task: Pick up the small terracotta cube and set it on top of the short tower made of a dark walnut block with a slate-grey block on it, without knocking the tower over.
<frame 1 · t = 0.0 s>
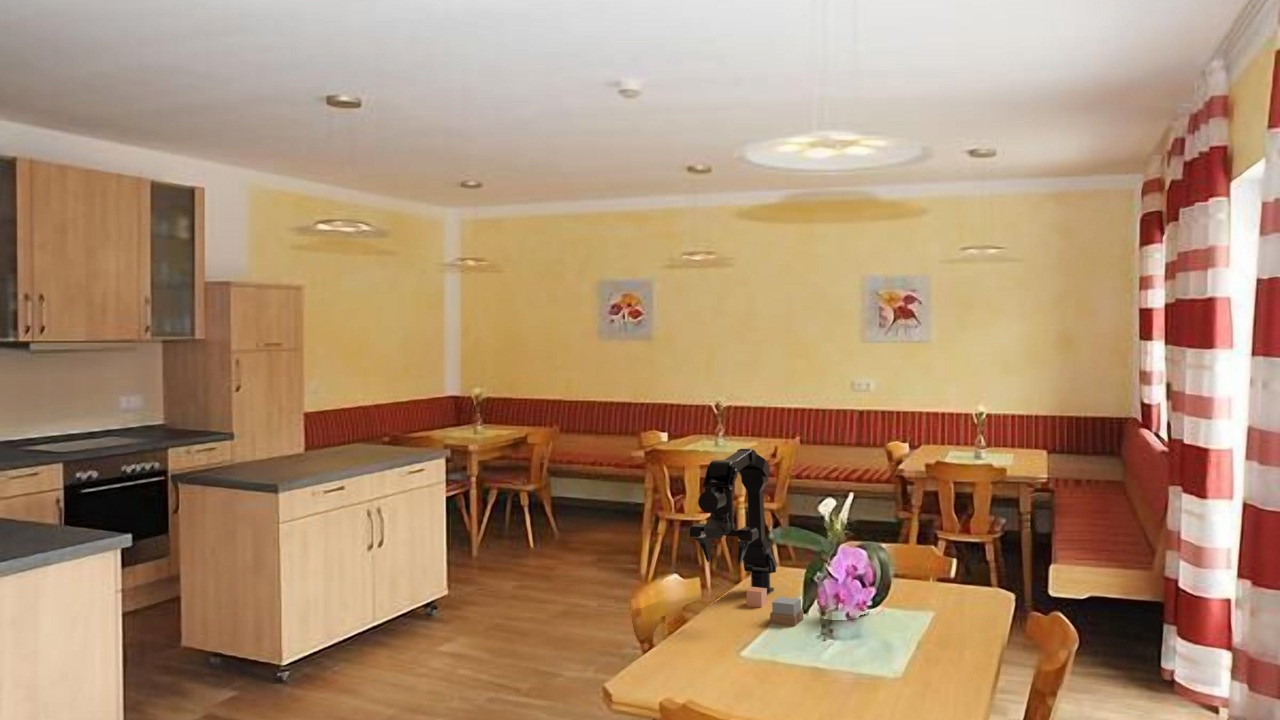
hand: (723, 563, 270), 15 cm above the table, fingers open, 9 cm apart
syrup box: (855, 614, 270), on the table
slate block: (786, 611, 264), point 3 cm above the table
walnut block: (786, 622, 265), on the table
terracotta cube: (756, 605, 281), on the table
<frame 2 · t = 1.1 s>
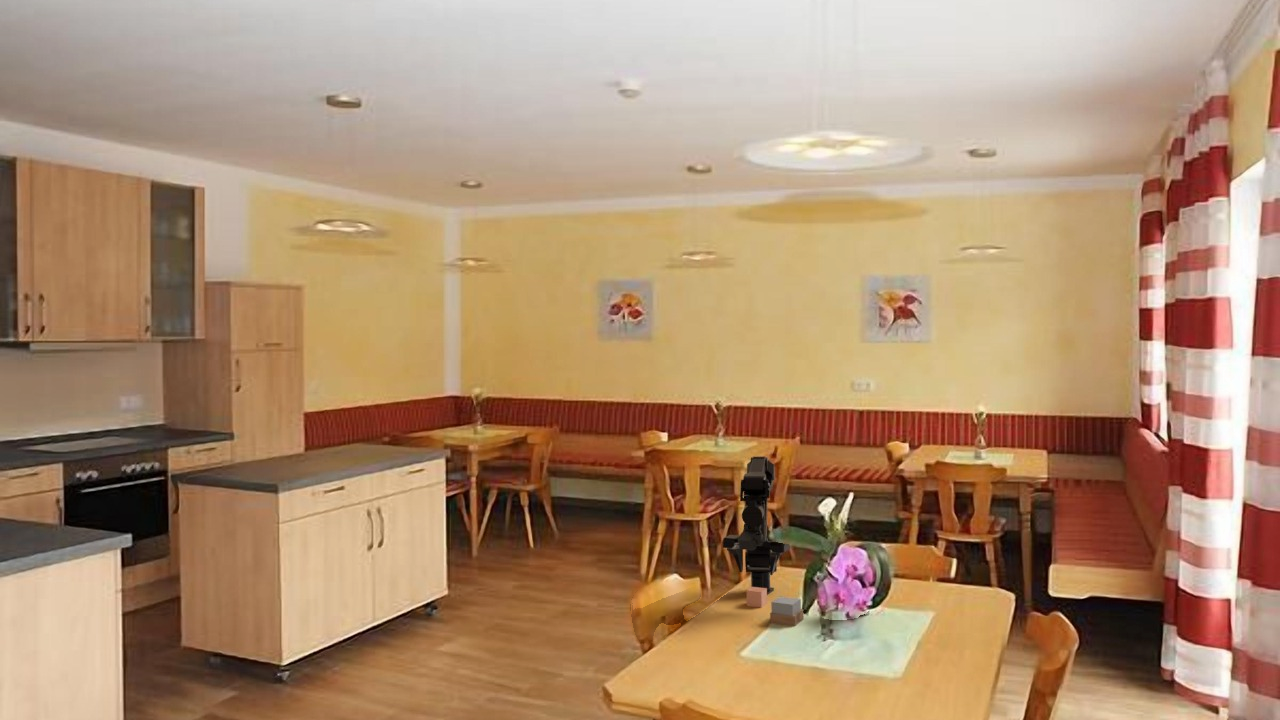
hand: (756, 573, 281), 9 cm above the table, fingers open, 9 cm apart
slate block: (786, 611, 264), point 3 cm above the table, touching walnut block
walnut block: (787, 622, 265), on the table, touching slate block
everything else where it was.
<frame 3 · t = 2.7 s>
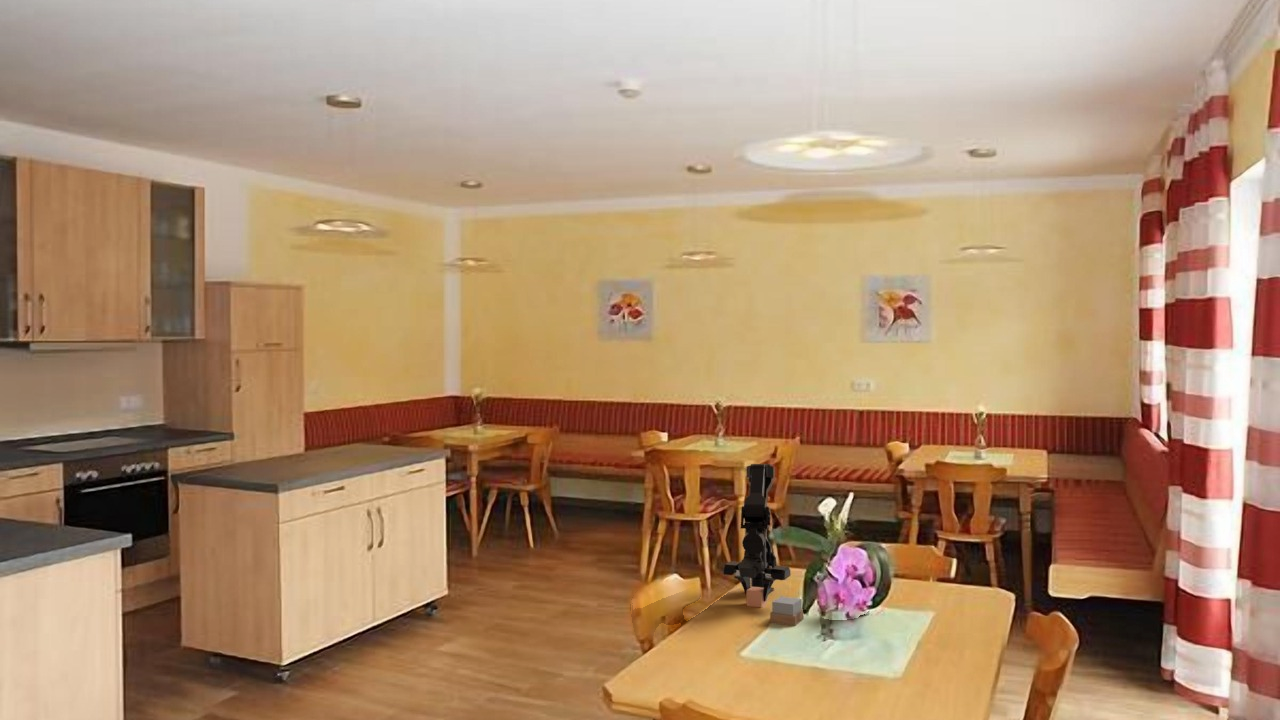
hand: (756, 600, 281), 1 cm above the table, fingers closed on terracotta cube, 4 cm apart
terracotta cube: (756, 604, 281), on the table, touching gripper
everything else where it was.
when the fingers open (8 cm above the table, at t = 6.8 s): terracotta cube drops 2 cm, resting on slate block.
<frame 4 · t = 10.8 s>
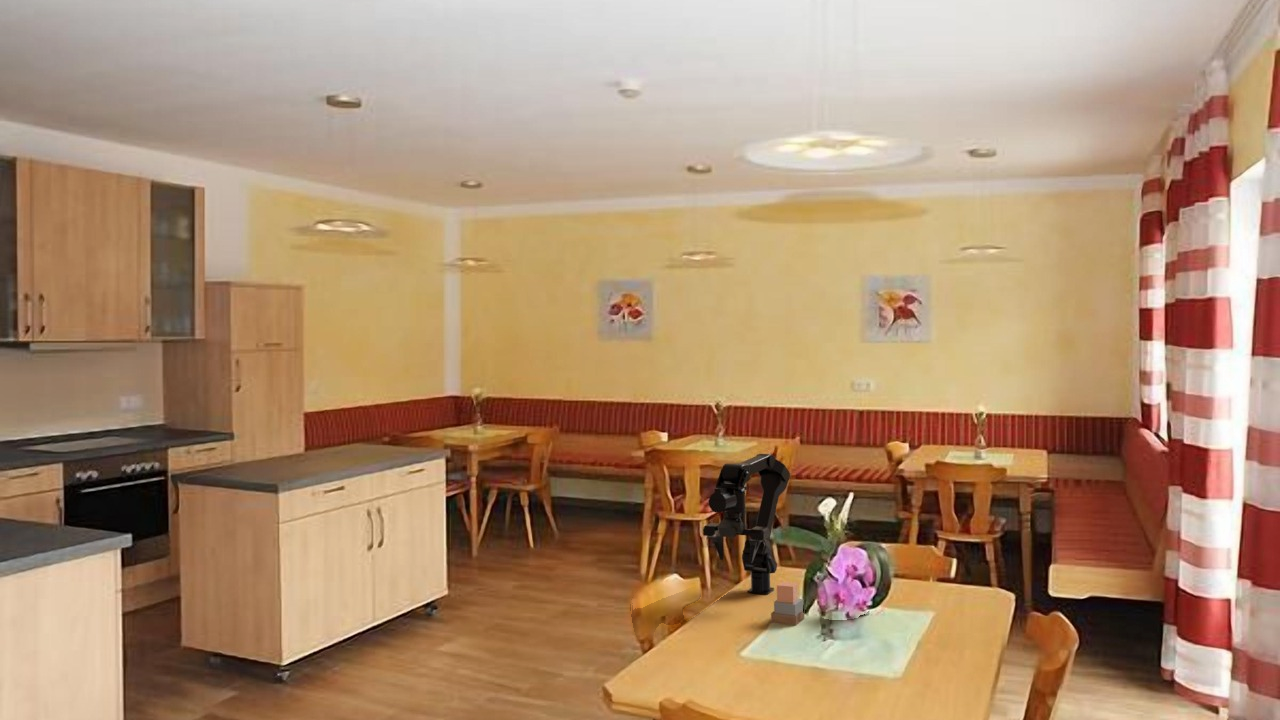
hand: (736, 561, 284), 12 cm above the table, fingers open, 9 cm apart
slate block: (789, 611, 265), point 2 cm above the table, touching terracotta cube, walnut block
terracotta cube: (787, 600, 265), point 5 cm above the table, touching slate block
everything else where it was.
at the end: terracotta cube 0.5 cm off-centre on the slate block, point 3.0 cm above the slate block's base; terracotta cube tilted 1°; slate block 0.3 cm off-centre on the walnut block, point 3.0 cm above the walnut block's base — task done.
